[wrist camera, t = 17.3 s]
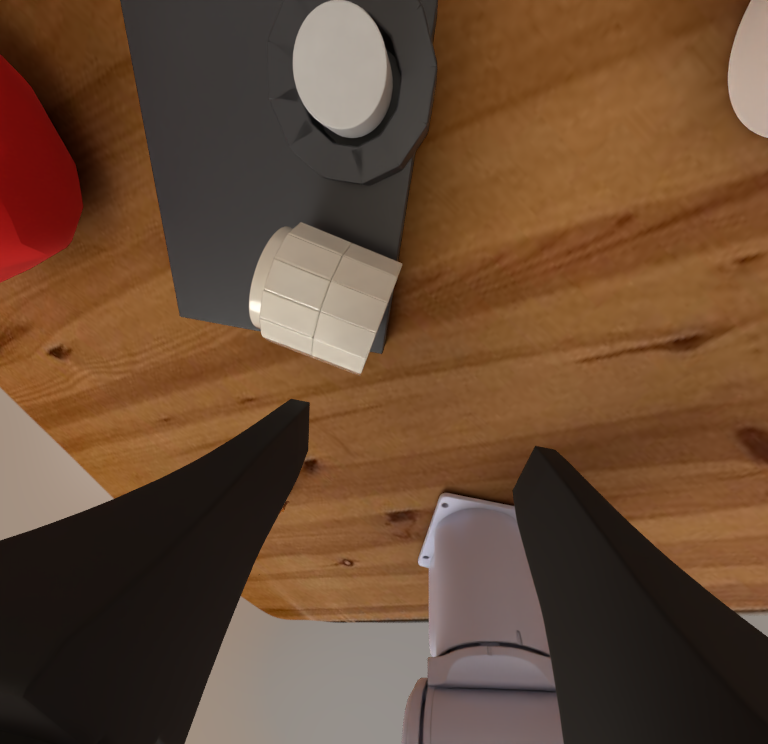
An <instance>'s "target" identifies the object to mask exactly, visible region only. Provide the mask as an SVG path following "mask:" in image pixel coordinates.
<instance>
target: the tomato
mask: <svg viewBox="0 0 768 744" xmlns="http://www.w3.org/2000/svg"><path fill="white" fill-rule="evenodd" d="M82 210H83V202H82V196H81V189H80V183H79V178H78V173H77V169H76V164H75V162H74V161H73V159H72V157H71V155H70V154H69V152H68V150H67V148H66V147H65V145H64V143H63V141H62V140H61V138H60V136H59V134H58V133H57V131H56V129H55V127H54V126H53V124H52V122H51V120H50V119H49V117H48V115H47V113H46V112H45V110H44V108H43V106H42V104H41V103H40V101H39V99H38V97H37V96H36V94H35V92H34V90H33V89H32V87H31V86H30V85H29V84H28V82H27V81H26V80H25V79H24V78H23V77H22V76H21V75H20V74H19V73H18V72H17V71H16V70H15V69H14V68H13V67H12V66H11V65H10V64H9V63H8V62H7V61H6V60H5V59H4V58H3V57H2V55H1V54H0V282H2V281H5V280H7V279H9V278H11V277H13V276H16V275H18V274H20V273H22V272H24V271H26V270H29V269H31V268H33V267H34V266H36V265H38V264H39V263H41V262H43V261H44V260H46V259H48V258H49V257H51V256H53V255H55V254H56V253H58V252H60V251H61V250H63V249H65V248H66V247H67V246H68V245H69V244H70V243H71V241H72V239H73V236H74V233H75V230H76V228H77V225H78V222H79V219H80V216H81V213H82Z"/></svg>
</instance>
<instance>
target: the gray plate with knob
mask: <svg viewBox="0 0 768 744" xmlns="http://www.w3.org/2000/svg"><path fill="white" fill-rule="evenodd" d="M120 1H121V7H122V12H123V17H124V23H125V28H126V33H127V38H128V44H129V49H130V54H131V60H132V65H133V70H134V75H135V81H136V86H137V91H138V97H139V102H140V107H141V113H142V118H143V123H144V128H145V134H146V139H147V144H148V150H149V155H150V160H151V165H152V171H153V176H154V181H155V187H156V192H157V197H158V202H159V208H160V213H161V218H162V224H163V229H164V234H165V239H166V245H167V250H168V255H169V261H170V266H171V271H172V276H173V282H174V287H175V292H176V298H177V303H178V308H179V313H180V316H181V317H186V318H191V319H196V320H202V321H207V322H213V323H218V324H223V325H229V326H234V327H240V328H245V329H251V330H256V331H261V329H259V328H257V327H255V326H254V325H253V323H252V322H251V319H250V314H249V296H250V289H251V284H252V279H253V276H254V272H255V269H256V266H257V263H258V261H259V258H260V256H261V254H262V252H263V250H264V248H265V246H266V244H267V243H268V241H269V240H270V238H271V237H272V236H273V234H274V233H275V232H276V231H277V230H279V229H280V228H282V227H284V226H289V227H292V228H294V227H295V226H297V225H298V224H299V223H300V222H302V223H304V224H307V225H309V226H312V227H314V228H317V229H319V230H322V231H324V232H327V233H329V234H331V235H334V236H336V237H339V238H341V239H344V240H346V241H349V242H351V243H353V244H356V245H358V246H361V247H363V248H366V249H368V250H371V251H373V252H376V253H378V254H380V255H383V256H385V257H388V258H390V259H393V260H395V261H398V259H399V253H400V246H401V240H402V234H403V227H404V221H405V215H406V209H407V202H408V196H409V190H410V183H411V177H412V171H413V165H414V158H415V152H416V150H417V149H418V147H419V146H420V144H421V143H422V141H423V140H424V139H425V137H426V136H427V132H428V130H429V125H430V119H431V113H432V107H433V101H434V95H435V90H436V82H437V60H436V56H435V52H434V48H433V39H434V32H435V26H436V20H437V7H438V0H345V1H349V2H352V3H354V4H356V5H358V6H359V7H361V8H362V9H363V10H365V11H366V12H367V13H368V14H369V15H370V17H371V18H372V19H373V20H374V22H375V24H376V25H377V27H378V29H379V31H380V33H381V35H382V38H383V41H384V44H385V48H386V51H387V55H388V58H389V62H390V66H391V70H392V77H393V89H392V97H391V102H390V105H389V108H388V111H387V113H386V115H385V117H384V118H383V120H382V121H381V123H380V124H379V125H378V126H377V127H376V128H375V129H374V130H373V131H372V132H370V133H369V134H367V135H364V136H362V137H358V138H347V137H342V136H340V135H338V134H336V133H334V132H333V131H331V130H330V129H328V128H327V127H325V126H324V125H323V124H321V123H320V122H319V121H317V120H316V119H315V118H314V117H313V116H312V115H311V114H310V113H309V112H308V110H307V109H306V107H305V106H304V104H303V102H302V100H301V98H300V96H299V94H298V91H297V88H296V84H295V80H294V74H293V51H294V45H295V41H296V37H297V34H298V32H299V29H300V27H301V25H302V23H303V22H304V20H305V19H306V17H307V16H308V15H309V14H310V13H311V11H313V10H314V9H315V8H316V7H317V6H319V5H321V4H323V3H325V2H328V1H332V0H120ZM393 290H394V289H393ZM392 297H393V292H392V294H391V297H390V300H389V302H388V305H387V307H386V310H385V313H384V315H383V318H382V321H381V323H380V326H379V328H378V331H377V334H376V336H375V339H374V342H373V344H372V347H371V349H370V352H375V353H380V354H382V353H383V350H384V346H385V341H386V334H387V328H388V322H389V316H390V309H391V303H392Z"/></svg>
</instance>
